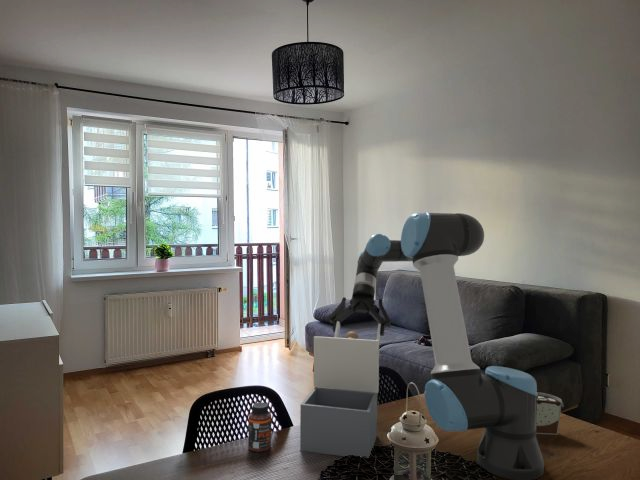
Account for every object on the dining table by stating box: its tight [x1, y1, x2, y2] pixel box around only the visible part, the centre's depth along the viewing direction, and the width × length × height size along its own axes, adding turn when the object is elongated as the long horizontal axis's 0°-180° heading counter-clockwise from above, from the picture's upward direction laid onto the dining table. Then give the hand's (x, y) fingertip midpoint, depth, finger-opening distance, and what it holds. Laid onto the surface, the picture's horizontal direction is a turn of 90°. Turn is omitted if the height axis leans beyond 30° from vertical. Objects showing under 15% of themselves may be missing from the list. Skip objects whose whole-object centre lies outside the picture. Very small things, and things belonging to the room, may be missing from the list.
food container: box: [536, 392, 564, 436], centre depth 134 cm, size 12×6×10 cm, turn 84°
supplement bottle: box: [247, 401, 272, 453], centre depth 122 cm, size 6×6×11 cm
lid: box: [313, 330, 380, 394], centre depth 137 cm, size 19×15×11 cm
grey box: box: [299, 387, 378, 457], centre depth 125 cm, size 18×14×12 cm
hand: (356, 342), depth 148 cm, fingers open, 13 cm apart
